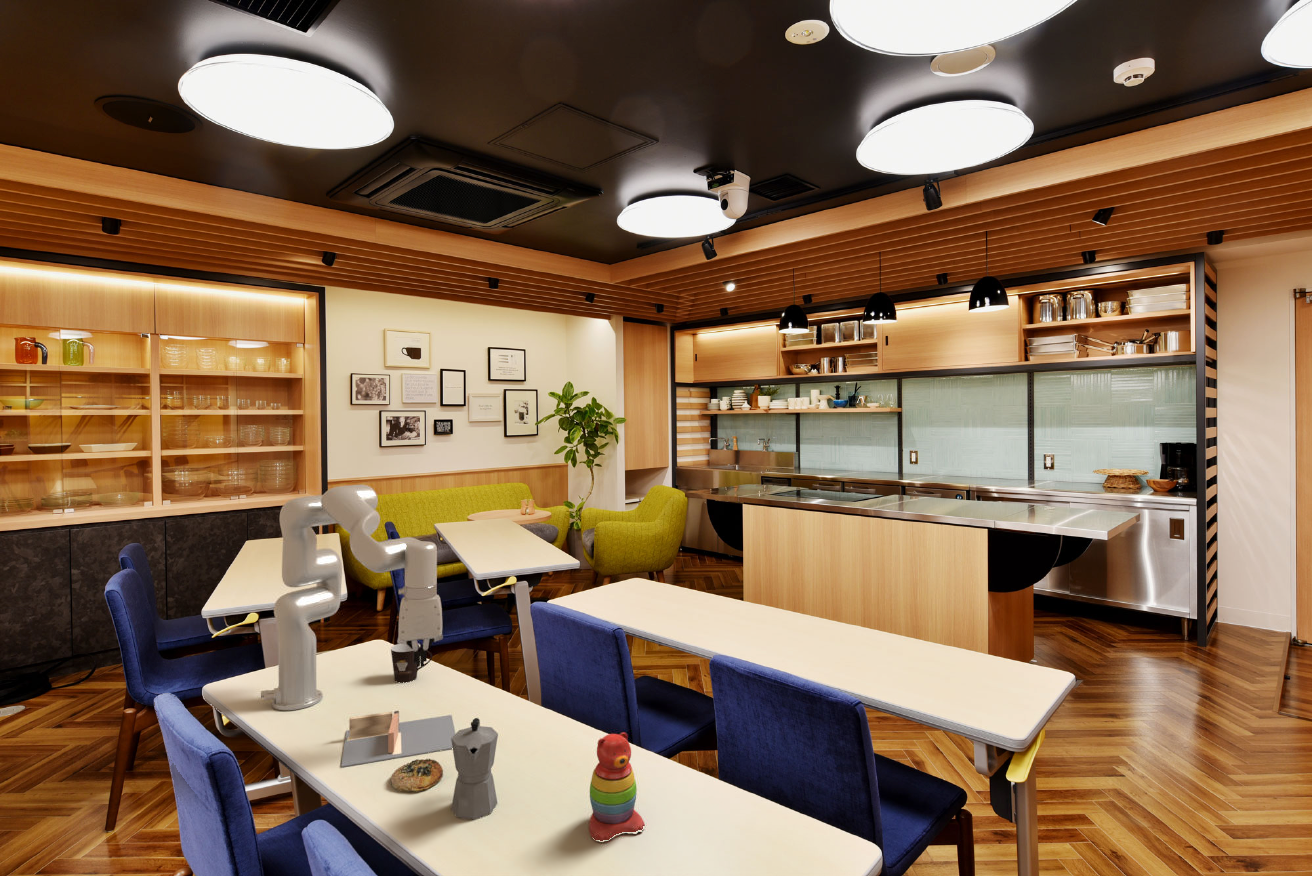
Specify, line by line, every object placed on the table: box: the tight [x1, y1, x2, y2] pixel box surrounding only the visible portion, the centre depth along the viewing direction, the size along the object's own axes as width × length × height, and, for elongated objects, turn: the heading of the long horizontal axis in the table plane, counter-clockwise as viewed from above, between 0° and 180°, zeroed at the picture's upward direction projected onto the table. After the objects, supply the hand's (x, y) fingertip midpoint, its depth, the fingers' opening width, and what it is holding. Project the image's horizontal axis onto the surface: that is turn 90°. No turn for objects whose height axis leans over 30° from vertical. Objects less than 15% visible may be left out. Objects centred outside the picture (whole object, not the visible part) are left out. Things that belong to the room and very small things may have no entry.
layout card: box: [340, 714, 456, 768], centre depth 166 cm, size 26×19×1 cm
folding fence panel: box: [388, 712, 400, 753], centre depth 164 cm, size 11×1×5 cm, turn 16°
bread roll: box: [390, 758, 444, 793], centre depth 148 cm, size 11×11×5 cm
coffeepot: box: [451, 717, 499, 820], centre depth 139 cm, size 15×9×18 cm, turn 13°
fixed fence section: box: [348, 710, 400, 740], centre depth 168 cm, size 12×1×5 cm, turn 112°
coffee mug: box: [390, 643, 433, 684], centre depth 205 cm, size 12×9×10 cm
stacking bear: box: [588, 732, 646, 841], centre depth 132 cm, size 11×10×18 cm
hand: (420, 664), depth 165 cm, fingers closed
